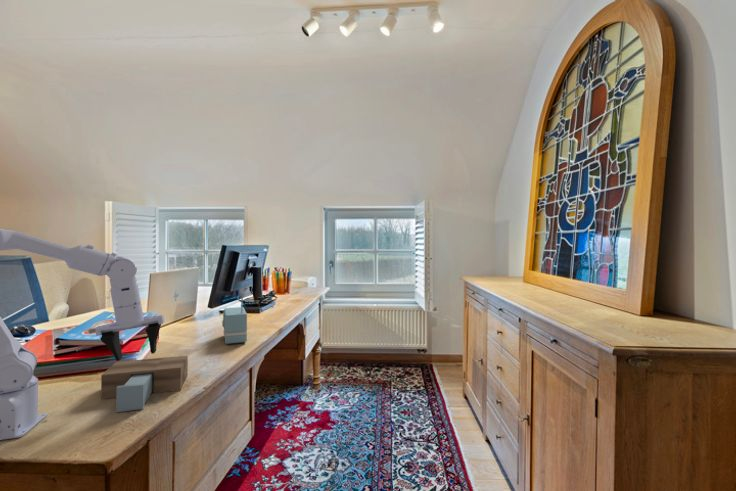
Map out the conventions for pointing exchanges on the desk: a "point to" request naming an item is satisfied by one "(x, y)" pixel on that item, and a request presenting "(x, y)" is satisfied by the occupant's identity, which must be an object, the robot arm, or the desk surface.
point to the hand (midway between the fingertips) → (136, 355)
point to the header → (166, 372)
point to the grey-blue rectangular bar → (134, 392)
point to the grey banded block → (235, 324)
